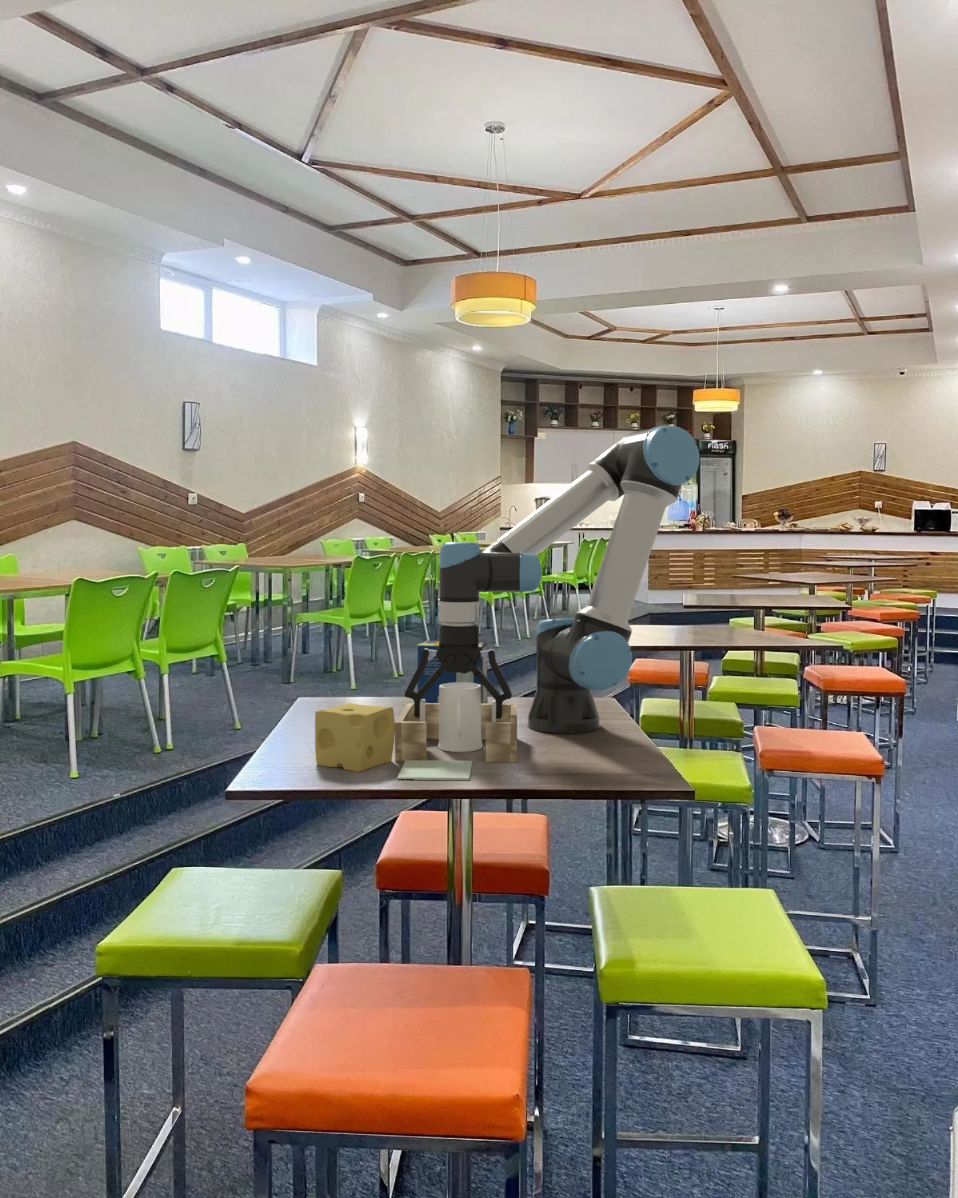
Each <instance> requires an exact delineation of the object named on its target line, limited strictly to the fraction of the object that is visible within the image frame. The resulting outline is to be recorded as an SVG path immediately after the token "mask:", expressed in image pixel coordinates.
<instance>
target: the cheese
mask: <svg viewBox="0 0 958 1198" xmlns="http://www.w3.org/2000/svg"><path fill="white" fill-rule="evenodd" d="M314 713H315V715H314V717H315V718H314V731H315V735H314V739H315V740H314V745H315V746H314V748H315V749H314V751H315V759H316V760H315V762H316V765H317V766H320V767H321V766H322V767H328V768H329V767H330V768H343V770H346V771H350V772H355V773H361V772H364V771H366V770H369V769H371V768H375V767H377V766H381V765H383V764H387V763H391V762H392V760H393V751H394V747H395V722H396V720H395V712H394V707H393V706H381V705H380V706H379V705H363V704H358V703H345V704H341V705H338V706H334V707H331V708H326V709H325V708H324V709H321V710H316V711H315V712H314Z"/></svg>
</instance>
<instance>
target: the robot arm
mask: <svg viewBox="0 0 958 1198" xmlns="http://www.w3.org/2000/svg"><path fill="white" fill-rule="evenodd" d="M699 464H700V452H699V448H698V446H697V444H696V442H695V439H694V437H693V436H692V435H691V434H690V433H689V432H688V431H687V430H685V429H683V428H682V427H679V426H676V425H658V426H655V427H652V428H649V429H644V430H637V431H633V432H630V433H628V434H627V435H624V436H623V437H621V438H620V439H618V440H617V441H616V442H614V444H612V445H611V446H610V447H608V448H607V449H606V450H605V451H603V452H602V453H601V454H600V455H599V456H598V457H596V458H595V459H594V460H593V461H591V462H590V463H588V464H587V466H586V472H585V473H583V474H582V475H581V476H579V477H578V478H576V479H575V480H574V481H572V482H571V483H570V484H568V486H566V487H565V488H563V490H561V491H559V492H558V493H557V494H556V495H554V496H553V497H552V498H550V499H549V500H548V501H546V502H545V503H544V504H543V505H541V506H540V507H539V508H537V509H536V510H535V511H533V512H531V514H530V515H528V516H526V517H525V518H524V519H523V520H522V521H520V522H518V524H516V525H515V526H513V527H512V528H511V529H510V530H508V531H507V532H505V534H503V535H502V536H501V537H499V538H498V539H497V540H495V541H494V542H493V543H491V544H490V545H489V546H487V547H486V548H484V549H483V550H481V549H480V544H479V543H478V542H473V541H471V542H468V541H467V542H465V541H462V542H461V541H459V542H457V541H450V542H448V541H447V542H444V543H442V545H441V546H440V551H439V564H438V570H439V573H438V575H439V576H438V577H439V601H438V621H439V622H440V623H441V624H439V626H438V641H439V648H438V650H429V649H428V648H425V649H424V650H423V651H422V658H421V662H420V664H419V666H418V668H417V667H416V670H415V672H414V674H413V676H412V677H411V680H410V682H409V684H408V686H407V688H406V689H405V692H404V697H405V698H409V699H411V700H413V703H414V716H415V717H420V722H425V699H421V698H422V697H423V695H424V694H425V693H426V692H427V691H428V690H429V689H430V687H431V686H432V685H433V684H434V683H435V682H436V680H437V679H438V678H439V677H440V676H441V675H442V674H443V673H444V671H445V670H446V671H448V672H450V673H457V672H459V673H468V672H470V671H471V672H472V673H473V674H474V675H475V676H476V677H477V678H478V680H479V681H480V682H481V683H482V684H483V686H484V687H485V688H486V689H487V693H489V694H490V695H491V696H492V698H493V700H492V701H491V704H492V722H496V719H501V717H502V704H503V702H504V701H507V700H511V698H512V696H513V693H512V690H511V689H510V687H509V684H508V683H507V680H506V678H505V676H504V674H503V673H502V670H501V668H500V666H499V664H498V662H497V659H496V651H495V649H493V648H490V649H489V650H488V649H487V651H480V649H479V641H480V639H479V637H480V632H479V631H480V627H479V626H478V625H477V623H478V622H479V621H480V613H479V612H480V592H481V593H487V592H488V593H489V592H490V593H503V592H504V593H519V594H521V593H525V592H526V593H527V592H534V591H536V590H537V589H538V588H539V585H540V583H541V578H542V566H541V565H542V564H541V561H540V560H539V557H538V555H539V554H541V553H542V552H543V551H544V550H546V549H547V548H549V546H551V545H552V544H554V543H555V542H556V541H558V540H559V539H560V538H561V537H562V536H564V535H566V534H567V533H568V532H569V531H570V530H571V529H573V528H574V527H576V526H577V525H578V524H579V523H581V522H582V521H584V520H585V519H586V518H587V517H588V516H590V515H591V514H592V513H594V512H595V511H596V510H598V509H599V508H601V507H602V506H603V505H604V504H606V503H607V502H609V501H611V502H616V501H617V500H619V499H620V498H621V497H623V498H622V501H621V505H620V507H619V510H618V513H617V516H616V519H615V522H614V525H613V527H612V530H611V533H610V537H609V539H608V543H607V545H606V548H605V551H604V555H603V557H602V560H601V563H600V564H599V565H600V566H599V568H598V571H597V574H596V578H595V580H594V583H593V586H592V589H591V592H590V595H589V598H588V600H587V603H586V606H585V607H584V608H582V609H579V610H578V611H576V613H575V614H574V617H572V618H571V617H570V618H568V617H567V618H552V619H542V620H540V621H539V622H538V623H537V626H536V635H535V640H536V642H535V643H536V644H535V645H536V688H535V689H536V691H535V694H534V697H533V701H532V703H531V707H530V709H529V712H528V716H527V719H528V720H527V721H528V722H527V726H528V727H529V728H530V729H532V730H535V731H540V732H546V733H555V734H581V733H588V732H594V731H596V730H598V729H599V728H600V719H601V718H600V714H599V710H598V708H597V705H596V701H595V698H594V695H593V692H592V691H593V690H596V691H599V690H600V691H602V690H603V691H604V690H608V689H611V688H613V687H615V686H617V685H619V684H621V682H622V681H624V679H625V678H626V677H627V675H628V674H629V671H630V669H631V666H632V661H633V652H632V651H631V648H630V644H629V641H630V639H631V635H632V632H633V630H632V628H631V625H630V623H629V617H630V614H631V612H632V608H633V605H634V602H635V599H636V596H637V593H638V591H639V588H640V585H641V582H642V580H643V576H644V573H645V569H646V566H647V564H648V562H649V561H648V560H649V558H650V555H651V552H652V549H653V547H654V543H655V540H656V537H657V534H658V532H659V530H660V529H659V528H660V526H661V523H662V520H663V517H664V514H665V511H666V508H667V507H669V506H670V505H673V504H674V503H676V502H677V500H678V497H679V494H680V491H681V488H682V485H683V484H684V485H685V484H686V483H688V482H689V481H691V479H692V478H693V477H694V476H695V474H696V473H697V471H698V469H699ZM434 656H437V658H438V660H439V661H440V662H441V665H440V667H439V668H438V669H437V670H436V671H435V673H434V674H433V675H432V676H431V677H430V678H429V679H428V681H427V682H426V683H425V684H424V685H423V686H422V687H421V689H420V690H419V691H418V692H417V691H415V689H416V687H417V683H418V681H419V679H420V677H421V675H422V673H423V671H424V669H425V667H426V665H427V663H428V661H431V660H432V659H433V657H434ZM480 657H483V658H484V659H485V661H486V662H487V663H489V666H490V668H491V670H492V672H493V674H494V676H495V679H496V681H497V683H498V684H499V686H500V689H501V691H502V693H500V691H499V690H498V689H497V687H495V685H494V684H493V683H492V681H490V679H489V677H488V676H487V677H486V676H485V675H484V673H483V672H482V671H481V670H480V668H479V667H478V666H477V664H476V663H477V662H478V660H479V659H480Z"/></svg>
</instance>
